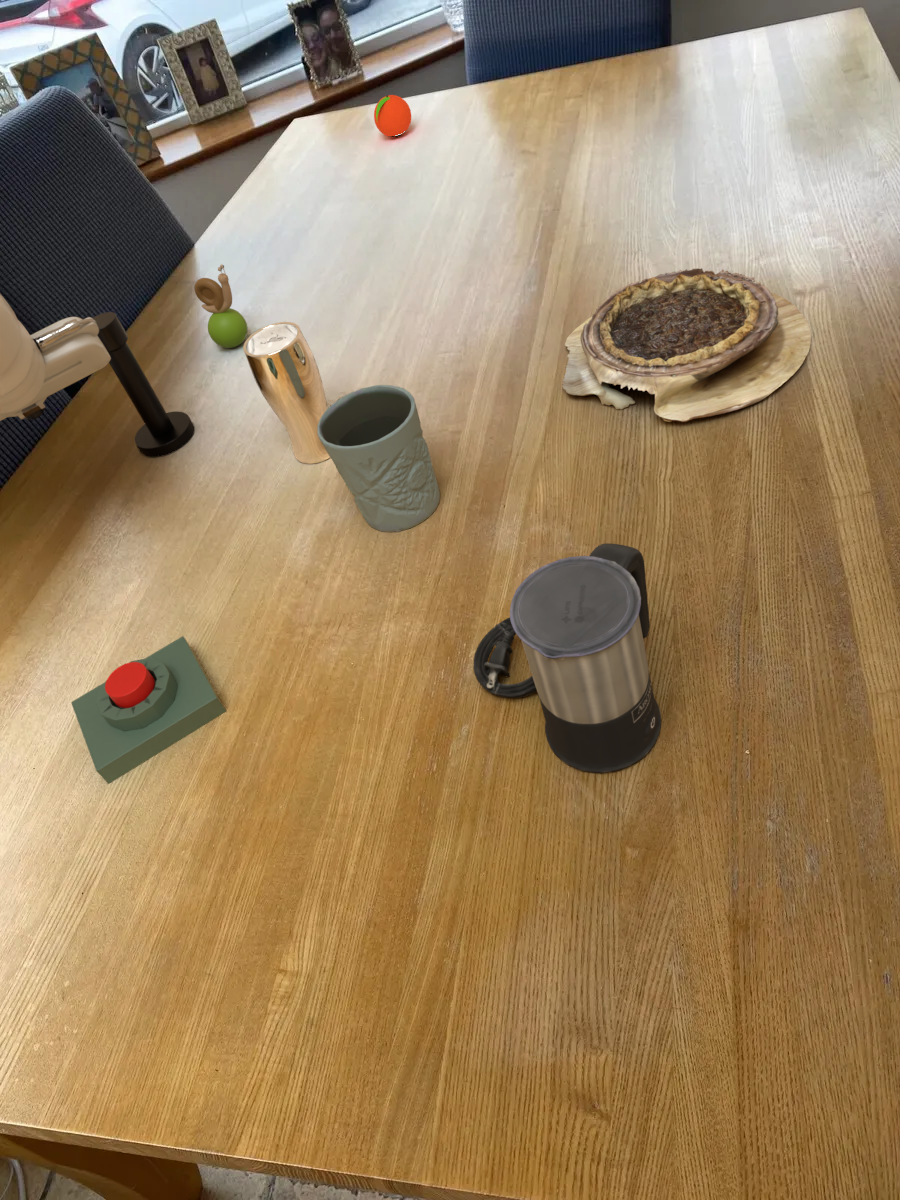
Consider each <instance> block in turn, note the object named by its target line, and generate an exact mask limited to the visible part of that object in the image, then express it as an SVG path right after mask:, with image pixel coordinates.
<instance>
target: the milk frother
mask: <svg viewBox="0 0 900 1200" xmlns="http://www.w3.org/2000/svg"><path fill="white" fill-rule="evenodd" d="M509 607H510V608H509V617H507V618H506V619H505V618H504V619H503V620H502V621H500V622H499V623H497V624H495V626H493V628H491V629H490V630H489V631H488V632H487V633H486V634H484V636H483V637H482V640H481V641H480V642H479V643H478V645H477V647H476V650H475V652H474V655H473V656H474V657H473V673H474V676H475V678H476V680H477V682H478V684H479V685H480V686H481V687H482V688H483V689H484V690H485V691H487V692H488V693H489V694H492V695H493V696H496V697H501V698H506V699H520V698H525V697H527V696H530V695H532V694H534V693H536V692H537V696H538V699H539V702H540V705H541V709H542V713H543V717H544V721H545V723H544V724H545V725H544V734H545V737H546V741H547V743H548V745H549V747H550V749H551V751H552V752H553V753H554V755H555V756H556V757H557V758H558V759H559V760H560V761H562V762H563V763H565V764H566V765H567V766H569V767H571V768H574V769H576V770H579V771H581V772H587V773H593V774H594V773H596V774H603V773H612V772H617V771H620V770H624V769H627V768H629V767H630V766H633V765H635V764H636V763H638V762H639V761H641V760H642V759H644V757H645V756H647V754H649V752H650V751H651V750H652V749H653V747H654V746H655V744H656V742H657V741H658V737H659V735H660V732H661V728H662V716H661V715H662V714H661V710H660V707H659V704H658V702H657V700H656V698H655V695H654V691H653V686H652V680H651V676H650V675H651V674H650V669H649V664H648V663H649V662H648V657H647V652H646V646H645V641H644V639H646V638H647V637H648V636H649V632H650V627H651V624H650V612H649V601H648V590H647V579H646V567H645V559H644V556H643V553H642V552H641V551H640V550H639V549H637V548H636V547H632V546H629V545H624V544H618V543H612V542H611V543H609V542H608V543H602V544H599V545H597V546H596V547H595V548H594V549H593V550H592V551H591V553H590V554H589V555H584V556H583V555H578V556H568V557H564V558H560V559H559V558H558V559H557V560H555V561H552V562H549V563H547V564H545V565H543V566H541V567H539V568H538V569H536V570H534V571H533V572H531V573H530V574H529V575H528V576H527V577H525V579H524V580H523V581H522V582H521V583H520V584H519V586H518V587H517V588H516V589H515V591H514V594H513V596H512V599H511V603H510V606H509ZM515 635H516V636H517V637H518V638H519V640H520V641H521V645H522V649H523V651H524V654H525V657H526V660H527V663H528V666H529V670H530V673H531V676H530V677H528V678H526V679H525V680H522V681H520V682H517V683H512V684H510V683H502V682H499V677H500V676H502V677H505V678H510V675H511V674H510V672H509V668H510V661H511V654H512V653H513V650H514V649H512V648H513V647H512V644H513V642H514V641H515ZM489 657H490V658H489Z"/></svg>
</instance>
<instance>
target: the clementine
mask: <svg viewBox="0 0 900 1200" xmlns="http://www.w3.org/2000/svg"><path fill="white" fill-rule="evenodd" d="M373 110H374V111H373V120H374V124H375V127H376V129H378V131H379V132H380V133H381V134H382V135H384V136H385V137H388V136H395V135H398V134H401V133H403V132H404V131H406V130H407V131H408V130H409V128H410V126H411V124H412V111H411V108H410V106H409V104H408V102H407V101H406V100H405V99H403V98H402V97H401V96H398V95H395V94H389V95H386V96H384V97H382V98H380V99H379V101H378V102H377V104H375V107H374V109H373ZM407 131H406V132H407Z"/></svg>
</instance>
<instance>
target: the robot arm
mask: <svg viewBox="0 0 900 1200" xmlns="http://www.w3.org/2000/svg"><path fill="white" fill-rule="evenodd" d="M92 318H93V317H90V316H88V317H85V318H82V317H78V316H70V317H69V316H68V317H66V318H63V319H59V320H57V321H56V322H54V323H52V324H50V325H47V326H46V327H44V328H42V329H40V330H38V331H36V332H34V333H32V334H30V333H29V331H28V330H27V328H26V327H25V326H24V325H23V323H22V322H21V321H20V320H19V319H18V317H17V315H16V312H15V311H14V310H13V308H12V306H11V305H10V304H9V303H8V301H7V300H6V299H5V298H4V296H3V295H2V293H0V422H1V421H3V420H5V419H7V418H15V417H18V418H19V419H20V420H24V419H25V417H28V416H29V415H31V414H33V413H35V412H37V411H39V410H41V409H43V408H44V409H45V408H46V405H45V401H46V400H47V398H48V397H50V396H52V395H54V394H55V393H57V392H60V391H61V390H63V389H65V388H67V387H69V386H71V385H73V384H75V383H77V382H79V381H81V380H83V379H84V378H86V377H89V376H90V375H92V374H94V373H96V372H99V371H100V370H102V369H104V368H105V367H107V365H108V364H109V361H110V360H111V357H110V355H109V353H108V352H107V350H106V348H105V347H104V345H103V343H102V342H101V340H100V339H99V337H98V336H97V335H98V333H99V328H98V325H97V323H96V321H95V320H93V319H92Z"/></svg>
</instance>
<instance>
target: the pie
mask: <svg viewBox="0 0 900 1200" xmlns="http://www.w3.org/2000/svg"><path fill="white" fill-rule="evenodd" d="M755 278H756V277H754V276H753V277H750V276H749V277H747V276H746V275H745V274H742V273H739V272H733V273H732V272H730V271H728V270H724V269H721V271H719V272H717V273H715V271H713V270H703V268H699V267H698V268H692V269H689V270H688V269H685V270H682V269H680V270H678V271H672V272H665V273H660V274H658V275H656V276H653V277H650V278H644V279H643V280H641V281H640V282H639V281H638V280H637V281H635V282H632V283H629V284H628V285H625V286H623V287H621V288H619V289H618V290H616V291H615V292H613V293H611V294H610V295H608V296H607V297H605V299H604V300H603V301H602V302H601V303H600V305H598V307H597V308H596V309H595V312H594V313H593V314H592V315H591V316H590V317H588V318H587V319H586V320H585V321H584V322H582V323H581V324H580V325H578V327H576V328H575V329H574V330H573V331H572V332H571V333H569V335H568V336H567V338H566V340H565V342H564V346H565V347H567V350H568V351H569V352H568V354H567V355H566V356H567V358H568V360H567V363H566V366H565V374H564V376H563V379H562V384H561V385H562V388H563V389H564V391H565V392H566V394H569V395H572V396H580V397H585V396H590V395H591V396H592V395H596V396H597V397H598V398H599V400H600V403H601V404H600V405H602V406H604V405H605V406H613V407H614V408H615V410H623V409H625V408H628V407H630V405H634V404H636V401H635V400H634V399H633V397H631V396H629V395H627V394H624V393H623V392H621V391H619V390H618V389H615V388H613V387H610V385H611V384H612V385H613V386H616V385H620V389H623V388H625V387H627V388H628V390H630V389H631V388H632V390H633V391H635V390H636V389H637V391H642V392H643V393H644V392H645V391H647V393H648V394H650V395H654V405H653V411H654V414H655V415H656V416H658V417H659V418H661V419H662V420H663V421H664V422H669V423H670V422H675V421H676V422H680V423H687V422H689V421H691V420H695V419H702V418H707V417H713V416H718V415H723V414H726V413H730V412H735V411H737V410H740V409H744V408H746V407H749V406H752V405H754V404H756V403H758V402H760V401H762V400H764V399H766V398H767V397H768V396H769V395H771V394H772V393H773V392H775V391H776V390H777V389H779V387H781V386H782V385H783V384H784V383H786V382H787V381H788V380H789V379H790V378H791V377H792V376H794V375H795V374H796V372H797V371H798V370H799V369H800V368H801V366H802V365H803V363H804V362H805V359H806V358H807V356H808V354H809V352H810V349H811V345H812V344H811V343H812V333H811V328H810V326H809V322H808V320H807V319H806V317H805V316H804V314H803V313H802V312H801V311H800V309H799V308H798V307H797V306H796V305H794V304H793V303H792V302H791V301H790V300H788V299H786V298H784V297H783V296H781V295H778V294H776V293H773V292H771V290H770V289H769V288H768V287H767V286H765V285H764V284H762V283H761V282H760V281H759V282H756V280H755ZM755 282H756V283H755ZM609 384H610V385H609Z"/></svg>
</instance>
